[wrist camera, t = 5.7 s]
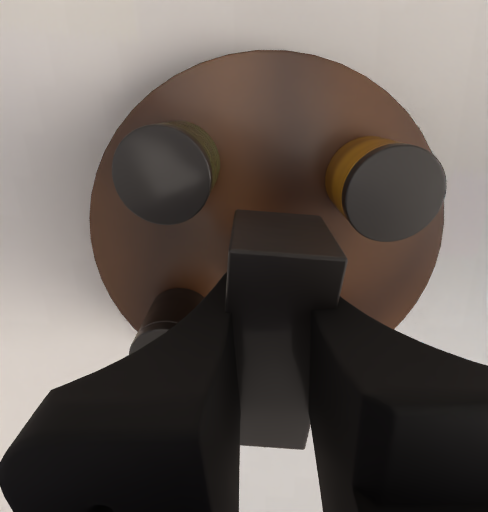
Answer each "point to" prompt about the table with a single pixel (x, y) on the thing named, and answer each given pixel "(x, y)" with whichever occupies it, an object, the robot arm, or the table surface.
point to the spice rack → (267, 215)
